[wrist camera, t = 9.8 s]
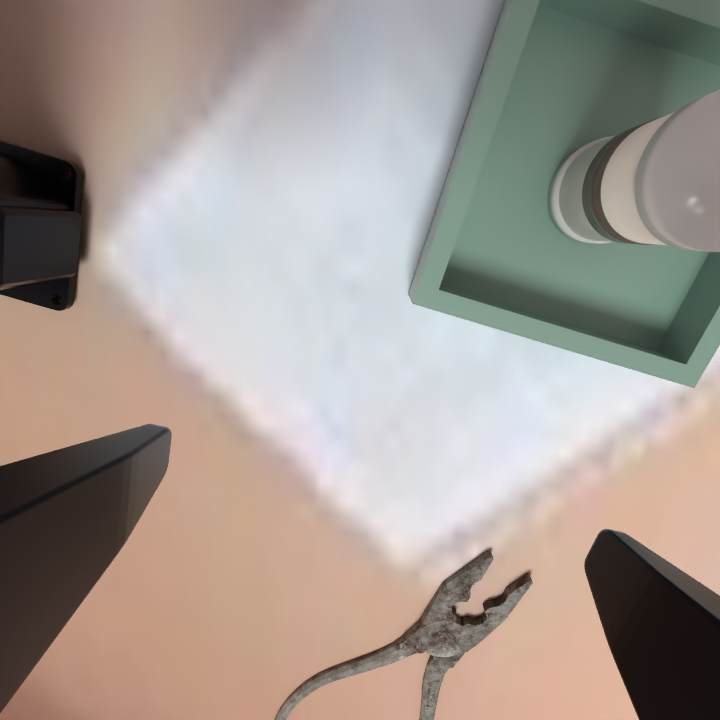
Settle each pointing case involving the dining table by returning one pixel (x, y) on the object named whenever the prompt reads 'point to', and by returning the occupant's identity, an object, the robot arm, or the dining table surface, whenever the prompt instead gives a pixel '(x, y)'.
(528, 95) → the parts tray
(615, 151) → the white banded cylinder
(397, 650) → the pliers
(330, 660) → the dining table surface
